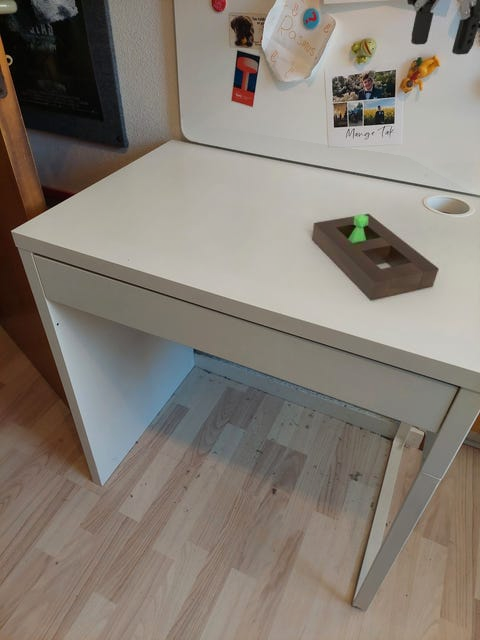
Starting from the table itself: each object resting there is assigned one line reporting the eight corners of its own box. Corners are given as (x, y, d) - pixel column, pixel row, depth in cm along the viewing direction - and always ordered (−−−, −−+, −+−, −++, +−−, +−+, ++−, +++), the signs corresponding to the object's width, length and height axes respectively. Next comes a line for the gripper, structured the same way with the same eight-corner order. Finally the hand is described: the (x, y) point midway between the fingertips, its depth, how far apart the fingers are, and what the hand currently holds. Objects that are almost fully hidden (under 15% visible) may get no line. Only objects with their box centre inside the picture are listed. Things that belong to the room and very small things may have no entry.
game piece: (352, 239, 73) (358, 204, 70) (374, 249, 71) (382, 214, 67) (335, 248, 71) (341, 213, 67) (358, 259, 69) (365, 223, 65)
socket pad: (365, 229, 76) (368, 213, 74) (432, 286, 63) (439, 268, 61) (311, 239, 73) (313, 222, 71) (371, 300, 61) (375, 282, 59)
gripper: (557, -123, 47) (499, 56, 57) (462, -110, 57) (427, 39, 67) (500, -127, 45) (451, 59, 55) (412, -113, 55) (384, 42, 65)
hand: (438, 48), depth 61 cm, fingers open, 8 cm apart
